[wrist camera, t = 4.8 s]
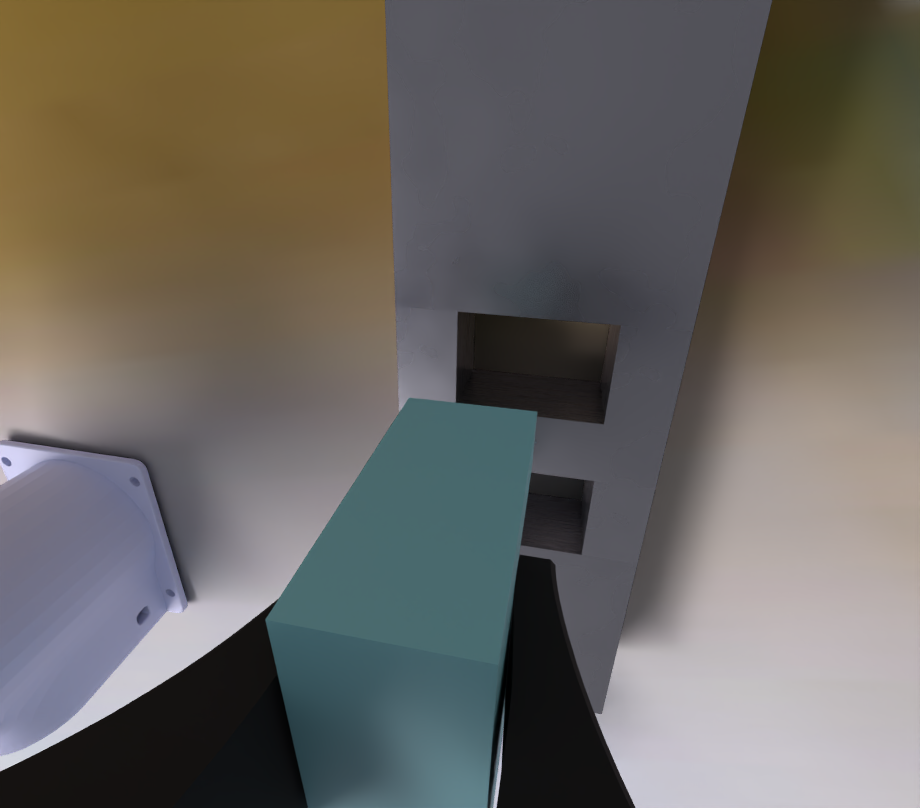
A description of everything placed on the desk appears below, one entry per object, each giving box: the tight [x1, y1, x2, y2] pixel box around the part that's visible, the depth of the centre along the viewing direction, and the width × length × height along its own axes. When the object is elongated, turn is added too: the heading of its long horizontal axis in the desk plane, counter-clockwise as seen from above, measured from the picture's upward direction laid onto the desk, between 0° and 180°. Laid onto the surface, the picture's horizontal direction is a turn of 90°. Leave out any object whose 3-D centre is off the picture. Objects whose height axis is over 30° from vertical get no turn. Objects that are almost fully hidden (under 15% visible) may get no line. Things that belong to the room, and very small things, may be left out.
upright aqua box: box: [265, 398, 537, 808], centre depth 10 cm, size 6×3×6 cm, turn 179°
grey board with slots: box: [385, 0, 772, 714], centre depth 17 cm, size 24×8×3 cm, turn 179°
